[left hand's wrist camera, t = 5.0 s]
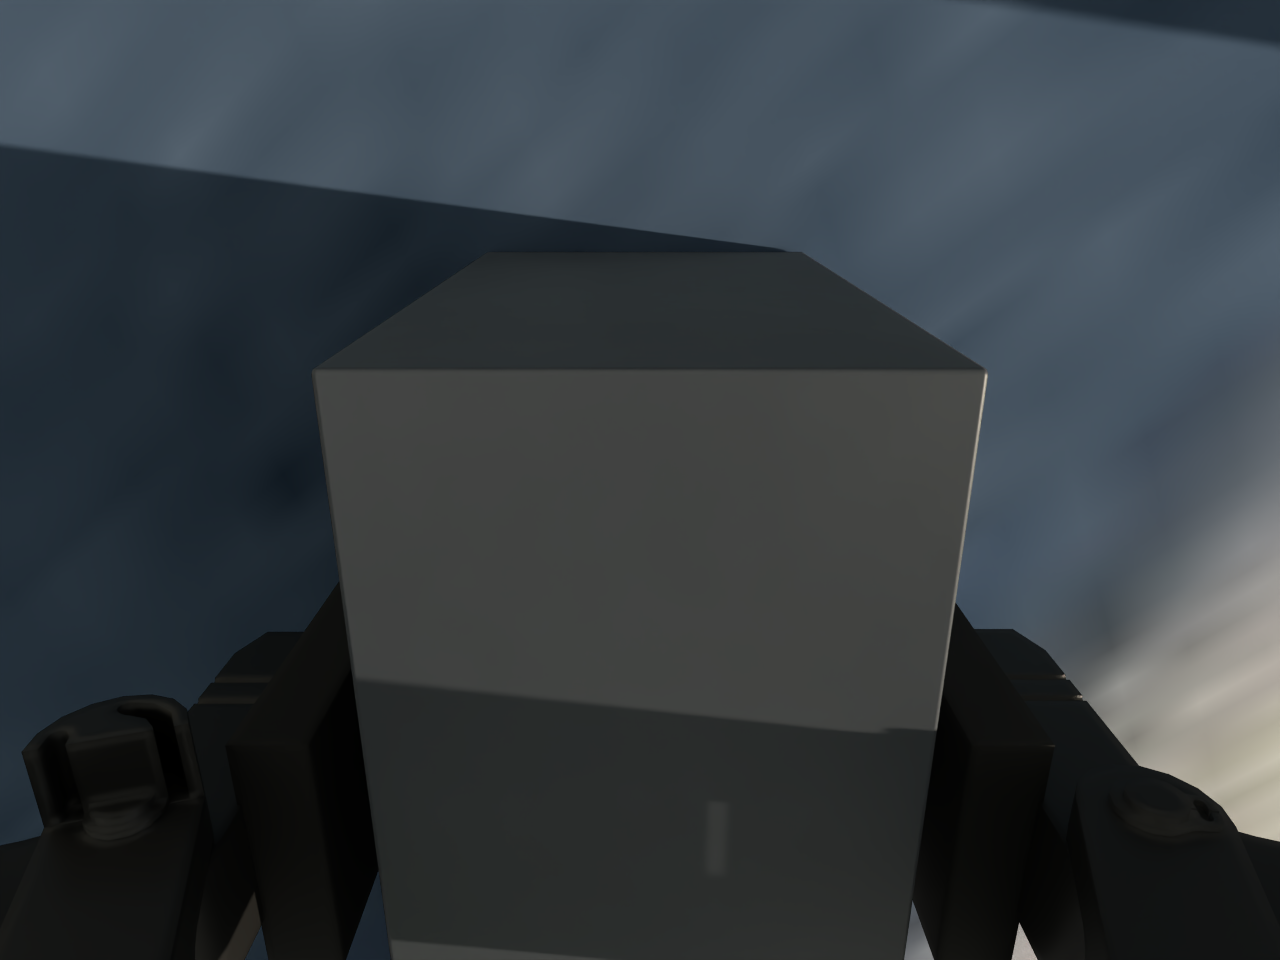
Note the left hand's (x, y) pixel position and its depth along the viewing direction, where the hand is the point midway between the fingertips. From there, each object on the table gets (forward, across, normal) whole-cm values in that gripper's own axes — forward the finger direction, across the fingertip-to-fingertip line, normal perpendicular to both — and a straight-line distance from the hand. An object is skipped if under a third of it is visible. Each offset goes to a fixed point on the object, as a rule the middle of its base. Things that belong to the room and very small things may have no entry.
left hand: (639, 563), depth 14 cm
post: (+1, 0, -23) cm, 23 cm away
